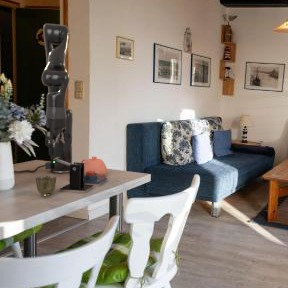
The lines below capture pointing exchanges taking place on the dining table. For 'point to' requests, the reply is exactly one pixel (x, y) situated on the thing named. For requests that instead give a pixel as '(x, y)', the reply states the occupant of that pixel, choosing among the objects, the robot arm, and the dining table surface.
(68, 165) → the switch lever
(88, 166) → the sugar bowl
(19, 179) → the dining table surface
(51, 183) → the cup
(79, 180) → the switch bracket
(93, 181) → the control box
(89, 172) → the button
